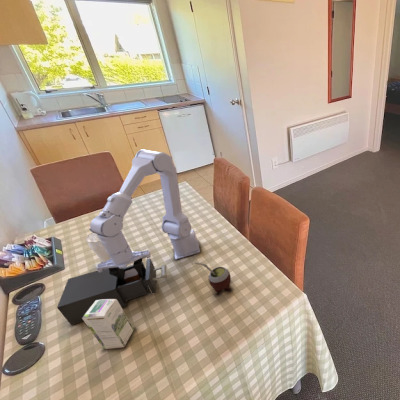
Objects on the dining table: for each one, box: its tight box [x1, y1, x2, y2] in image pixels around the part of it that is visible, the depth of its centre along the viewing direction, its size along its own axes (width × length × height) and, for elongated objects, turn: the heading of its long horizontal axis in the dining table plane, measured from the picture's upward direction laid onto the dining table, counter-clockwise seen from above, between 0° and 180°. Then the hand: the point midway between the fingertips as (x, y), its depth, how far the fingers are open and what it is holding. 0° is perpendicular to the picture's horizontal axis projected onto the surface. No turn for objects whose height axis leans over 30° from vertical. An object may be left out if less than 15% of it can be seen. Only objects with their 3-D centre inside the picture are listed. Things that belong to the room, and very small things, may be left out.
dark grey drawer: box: [117, 257, 168, 302], centre depth 93 cm, size 18×11×7 cm, turn 117°
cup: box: [85, 232, 111, 263], centre depth 106 cm, size 9×9×12 cm
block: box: [124, 269, 142, 284], centre depth 92 cm, size 4×4×4 cm
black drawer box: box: [56, 269, 127, 326], centre depth 88 cm, size 15×13×9 cm
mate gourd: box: [194, 262, 232, 296], centre depth 90 cm, size 8×8×15 cm
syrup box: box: [82, 299, 135, 350], centre depth 75 cm, size 6×6×14 cm
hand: (134, 278), depth 92 cm, fingers closed on block, 4 cm apart
